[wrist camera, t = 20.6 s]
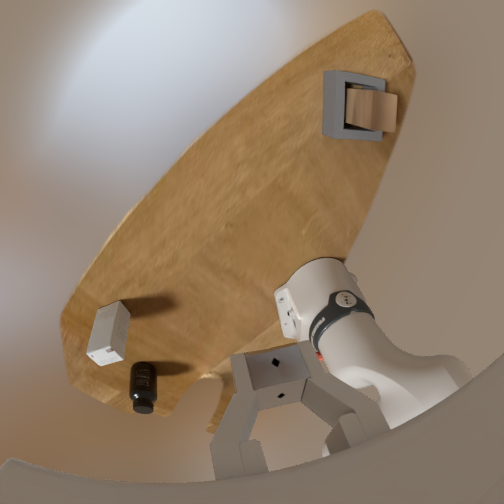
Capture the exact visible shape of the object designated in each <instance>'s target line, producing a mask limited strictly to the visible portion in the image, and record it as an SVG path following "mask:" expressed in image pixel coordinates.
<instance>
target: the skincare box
mask: <svg viewBox="0 0 504 504" xmlns="http://www.w3.org/2000/svg"><path fill="white" fill-rule="evenodd" d="M129 321H130V313H129V311H128V310H127V309H126V308H125V306H124V305H123V304H122V303H121V301H117V302H115V303H112V304H110V305H107V306H104V307H102V308H100V309H98V311H97V314H96V318H95V321H94V325H93V329H92V332H91V336H90V340H89V344H88V348H87V352H86V354H87V355H88V356H89V357H90V358H91V359H92V360H94V361H95V362H96V363H97V364H98V365H100V366H103V365H107V364H110V363H114V362H117V361H121V360H124V356H125V348H126V341H127V334H128V327H129Z"/></svg>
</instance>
